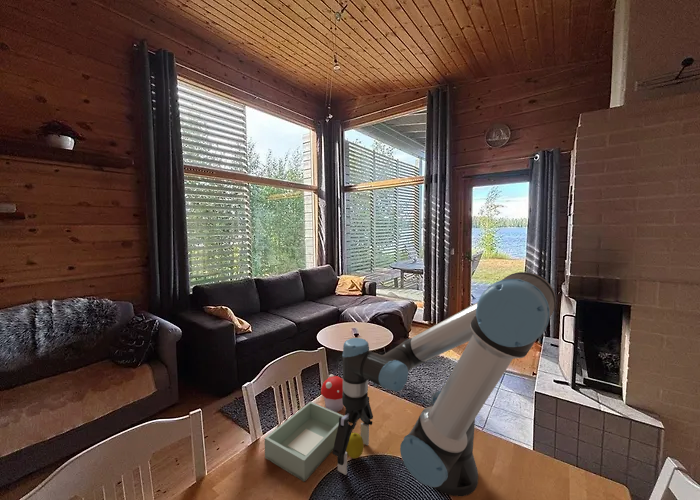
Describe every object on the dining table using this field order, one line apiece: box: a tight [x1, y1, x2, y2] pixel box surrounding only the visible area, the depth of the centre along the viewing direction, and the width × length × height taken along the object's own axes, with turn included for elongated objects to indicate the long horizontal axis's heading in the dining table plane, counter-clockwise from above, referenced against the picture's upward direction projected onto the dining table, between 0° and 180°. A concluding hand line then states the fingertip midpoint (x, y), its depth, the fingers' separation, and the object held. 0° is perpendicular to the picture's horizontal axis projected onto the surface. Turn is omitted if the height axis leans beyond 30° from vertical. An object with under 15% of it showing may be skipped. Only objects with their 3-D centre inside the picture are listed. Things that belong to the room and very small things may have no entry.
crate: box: [264, 401, 345, 482], centre depth 97 cm, size 16×22×6 cm
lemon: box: [346, 432, 365, 459], centre depth 93 cm, size 6×6×8 cm
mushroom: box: [320, 373, 344, 413], centre depth 117 cm, size 11×11×12 cm
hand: (354, 456), depth 93 cm, fingers open, 12 cm apart
